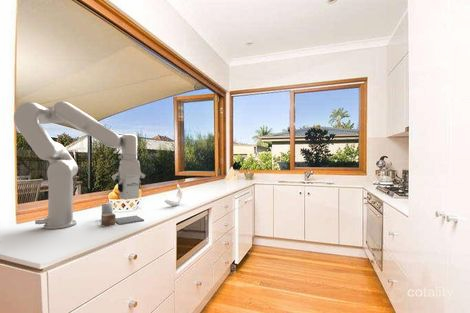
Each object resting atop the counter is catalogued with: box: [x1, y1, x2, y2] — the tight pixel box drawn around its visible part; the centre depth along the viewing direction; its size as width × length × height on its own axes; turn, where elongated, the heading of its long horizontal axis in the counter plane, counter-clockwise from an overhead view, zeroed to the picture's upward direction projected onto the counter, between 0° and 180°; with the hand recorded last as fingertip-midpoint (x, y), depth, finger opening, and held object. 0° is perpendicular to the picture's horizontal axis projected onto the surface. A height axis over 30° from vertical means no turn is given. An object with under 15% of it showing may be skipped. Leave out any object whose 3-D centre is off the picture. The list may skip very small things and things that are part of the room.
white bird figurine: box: [164, 183, 183, 207], centre depth 164 cm, size 5×19×15 cm, turn 166°
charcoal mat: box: [115, 215, 145, 225], centre depth 123 cm, size 12×12×1 cm
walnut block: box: [100, 212, 116, 227], centre depth 115 cm, size 5×5×5 cm
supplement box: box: [118, 175, 140, 201], centre depth 123 cm, size 7×7×13 cm
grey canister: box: [101, 202, 114, 215], centre depth 125 cm, size 5×5×8 cm
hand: (129, 190), depth 123 cm, fingers closed on supplement box, 8 cm apart
